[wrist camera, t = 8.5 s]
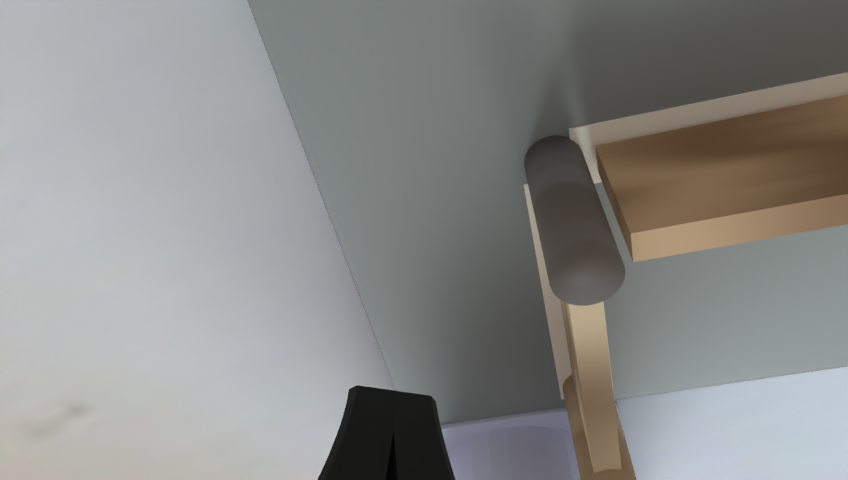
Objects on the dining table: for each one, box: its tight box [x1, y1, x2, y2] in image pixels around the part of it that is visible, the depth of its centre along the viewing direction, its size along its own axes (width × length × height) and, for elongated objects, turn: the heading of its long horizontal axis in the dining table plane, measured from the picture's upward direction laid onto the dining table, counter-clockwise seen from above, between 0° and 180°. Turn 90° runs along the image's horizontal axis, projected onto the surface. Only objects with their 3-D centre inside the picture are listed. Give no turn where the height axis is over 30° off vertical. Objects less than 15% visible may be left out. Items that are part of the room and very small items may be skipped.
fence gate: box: [595, 95, 848, 262], centre depth 16 cm, size 10×2×5 cm, turn 104°
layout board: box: [248, 0, 848, 425], centre depth 18 cm, size 22×21×1 cm
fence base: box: [524, 135, 636, 480], centre depth 19 cm, size 11×2×5 cm, turn 13°
